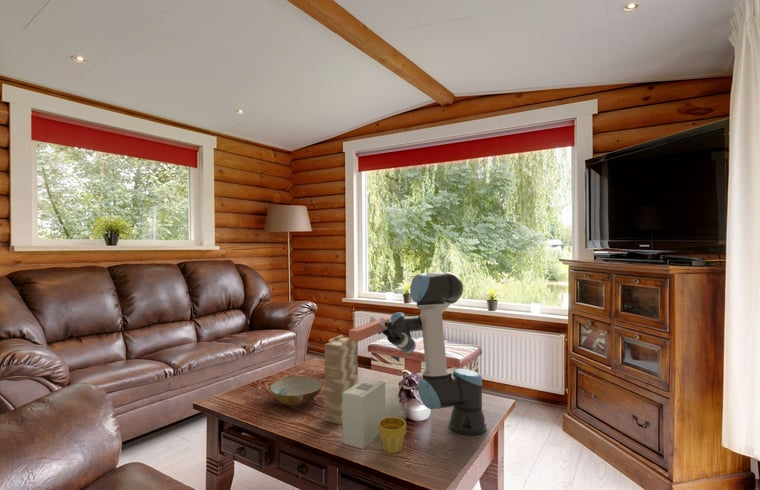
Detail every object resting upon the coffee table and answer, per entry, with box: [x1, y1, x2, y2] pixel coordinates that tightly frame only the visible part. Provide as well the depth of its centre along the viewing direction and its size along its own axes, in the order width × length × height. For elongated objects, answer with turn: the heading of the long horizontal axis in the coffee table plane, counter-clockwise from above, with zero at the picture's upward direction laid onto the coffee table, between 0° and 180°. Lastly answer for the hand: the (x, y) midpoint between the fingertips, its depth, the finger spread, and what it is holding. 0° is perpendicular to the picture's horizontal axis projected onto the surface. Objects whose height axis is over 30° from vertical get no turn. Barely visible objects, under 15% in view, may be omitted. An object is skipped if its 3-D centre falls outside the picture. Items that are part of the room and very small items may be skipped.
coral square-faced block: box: [348, 317, 391, 343], centre depth 164 cm, size 26×4×4 cm, turn 151°
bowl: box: [268, 375, 324, 407], centre depth 193 cm, size 25×25×8 cm
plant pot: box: [379, 416, 407, 454], centre depth 150 cm, size 10×10×10 cm
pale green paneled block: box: [342, 377, 386, 450], centre depth 160 cm, size 18×9×20 cm, turn 151°
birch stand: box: [323, 334, 359, 426], centre depth 178 cm, size 15×9×34 cm, turn 151°
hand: (375, 320), depth 167 cm, fingers closed on coral square-faced block, 4 cm apart
